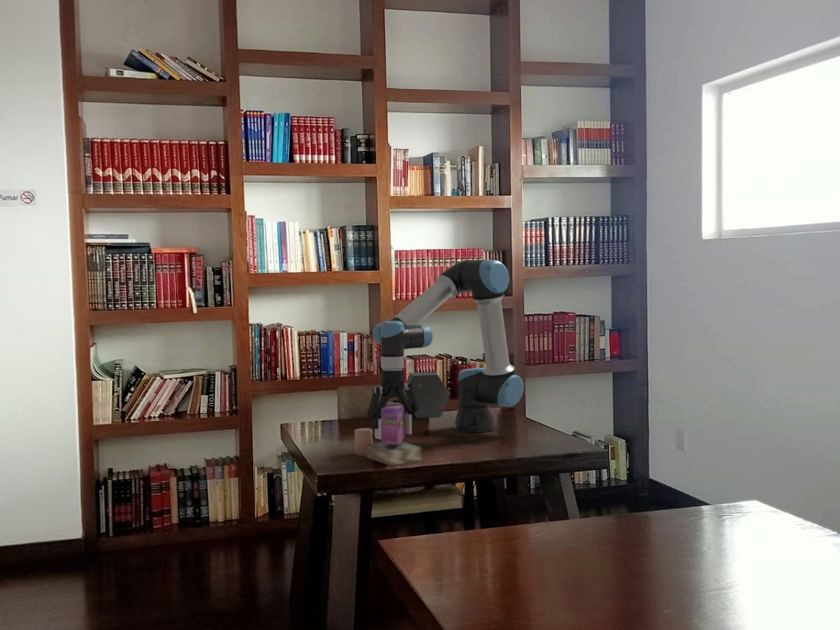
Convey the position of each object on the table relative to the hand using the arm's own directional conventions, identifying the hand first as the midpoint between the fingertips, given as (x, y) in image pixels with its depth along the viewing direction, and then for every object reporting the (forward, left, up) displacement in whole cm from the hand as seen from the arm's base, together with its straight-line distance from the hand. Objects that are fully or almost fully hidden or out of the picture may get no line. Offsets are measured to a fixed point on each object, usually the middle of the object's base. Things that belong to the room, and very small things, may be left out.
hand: (393, 436), depth 268 cm
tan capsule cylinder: (+4, -12, -7) cm, 15 cm away
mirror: (0, 0, -7) cm, 7 cm away
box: (0, 0, -2) cm, 2 cm away
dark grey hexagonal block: (-51, -53, -8) cm, 74 cm away
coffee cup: (-24, -30, -8) cm, 39 cm away
